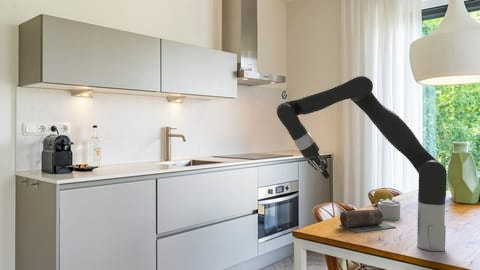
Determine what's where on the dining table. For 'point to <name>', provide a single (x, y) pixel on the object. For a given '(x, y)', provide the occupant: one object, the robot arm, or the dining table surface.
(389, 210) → the lumpy-topped squat cylinder
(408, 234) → the dining table surface
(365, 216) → the dark brown tall block
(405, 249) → the dining table surface
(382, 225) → the mat
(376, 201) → the potato
